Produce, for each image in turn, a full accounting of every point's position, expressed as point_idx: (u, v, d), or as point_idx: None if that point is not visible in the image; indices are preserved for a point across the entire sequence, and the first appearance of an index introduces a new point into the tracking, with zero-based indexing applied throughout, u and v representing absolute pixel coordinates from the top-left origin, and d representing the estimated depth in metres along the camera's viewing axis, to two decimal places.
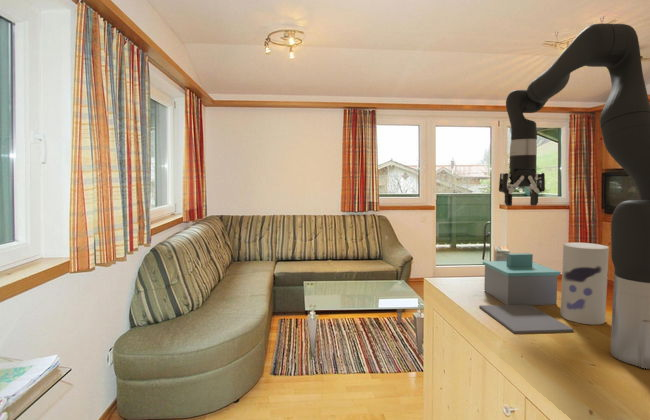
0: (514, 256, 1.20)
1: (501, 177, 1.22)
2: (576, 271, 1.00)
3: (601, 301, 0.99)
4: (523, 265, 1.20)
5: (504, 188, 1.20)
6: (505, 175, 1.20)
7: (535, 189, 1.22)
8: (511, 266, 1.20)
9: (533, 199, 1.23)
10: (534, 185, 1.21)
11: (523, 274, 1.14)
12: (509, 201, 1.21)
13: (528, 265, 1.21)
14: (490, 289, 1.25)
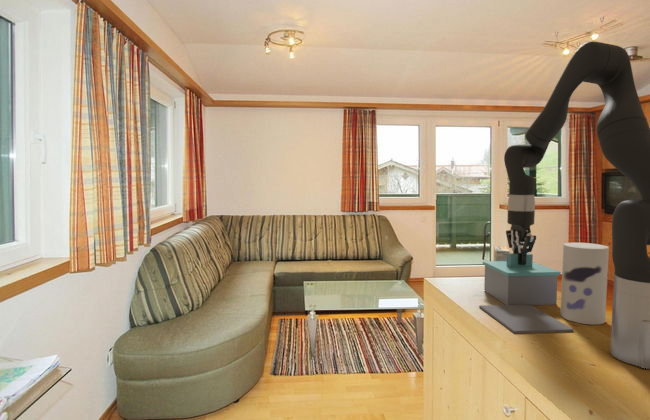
0: (514, 256, 1.20)
1: (530, 240, 1.15)
2: (576, 272, 1.00)
3: (601, 301, 0.99)
4: (523, 265, 1.20)
5: None
6: None
7: None
8: (511, 266, 1.20)
9: None
10: None
11: (523, 274, 1.14)
12: (525, 260, 1.20)
13: (528, 265, 1.20)
14: (490, 289, 1.25)
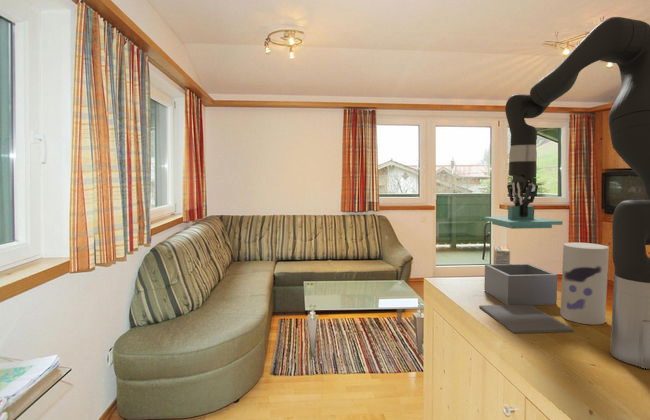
0: (516, 208, 1.19)
1: (532, 190, 1.14)
2: (576, 271, 1.00)
3: (601, 301, 0.99)
4: (525, 217, 1.19)
5: None
6: None
7: None
8: (513, 218, 1.19)
9: None
10: None
11: (525, 223, 1.12)
12: None
13: (530, 217, 1.19)
14: (490, 289, 1.25)
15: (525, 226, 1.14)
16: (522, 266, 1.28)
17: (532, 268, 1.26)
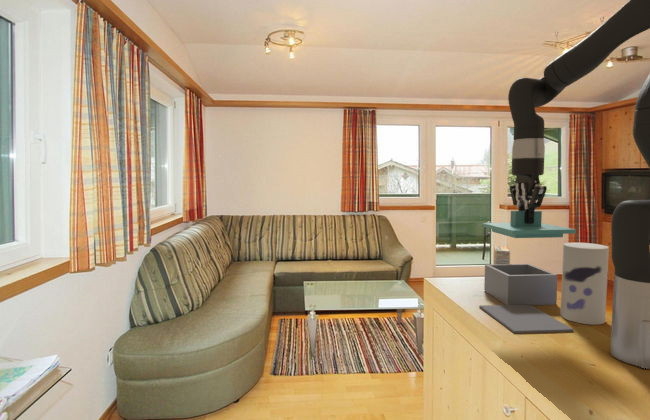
0: (520, 213, 1.00)
1: (539, 192, 0.95)
2: (576, 272, 1.00)
3: (601, 301, 0.99)
4: (530, 224, 1.01)
5: None
6: None
7: None
8: (516, 225, 1.01)
9: None
10: None
11: (531, 232, 0.94)
12: None
13: (536, 224, 1.01)
14: (490, 289, 1.25)
15: (531, 235, 0.96)
16: (522, 266, 1.28)
17: (532, 268, 1.26)
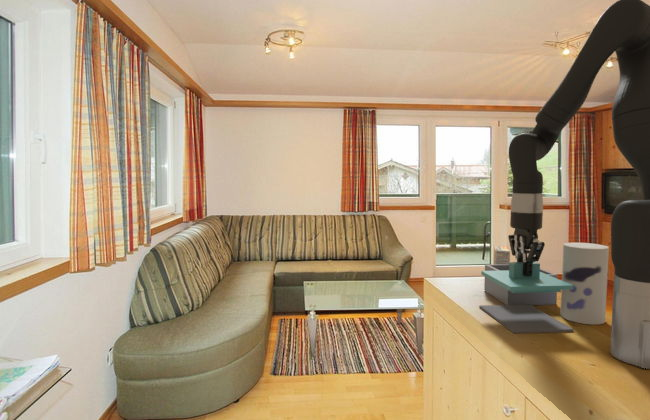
0: (518, 266, 1.02)
1: (537, 248, 0.96)
2: (576, 272, 1.00)
3: (601, 301, 0.99)
4: (529, 276, 1.02)
5: None
6: None
7: None
8: (514, 277, 1.02)
9: None
10: None
11: (529, 288, 0.95)
12: (531, 271, 1.01)
13: (534, 276, 1.02)
14: (490, 289, 1.25)
15: (529, 290, 0.97)
16: None
17: None
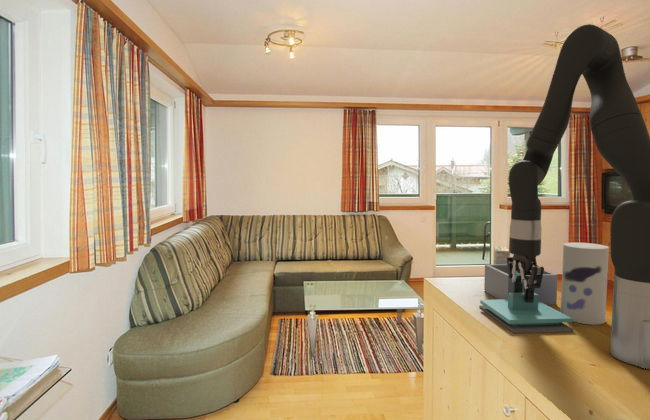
0: (517, 297, 1.02)
1: (537, 272, 0.96)
2: (576, 272, 1.00)
3: (601, 301, 0.99)
4: (527, 307, 1.03)
5: None
6: None
7: None
8: (513, 309, 1.02)
9: (519, 289, 1.06)
10: None
11: (528, 321, 0.96)
12: None
13: (533, 307, 1.03)
14: (490, 289, 1.25)
15: (528, 322, 0.98)
16: None
17: None
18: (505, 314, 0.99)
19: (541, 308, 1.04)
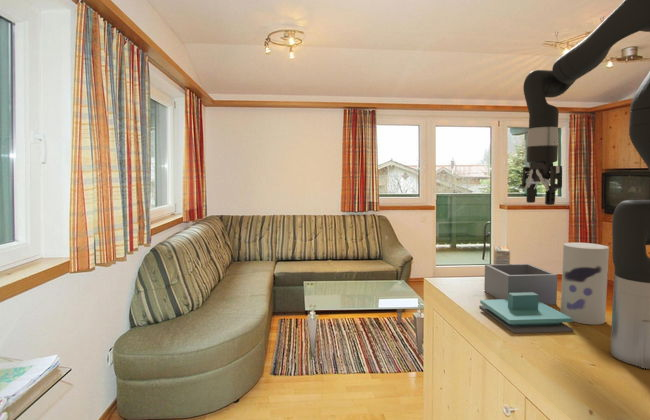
0: (517, 297, 1.02)
1: (556, 170, 1.00)
2: (576, 271, 1.00)
3: (601, 301, 0.99)
4: (527, 307, 1.03)
5: None
6: None
7: None
8: (513, 309, 1.02)
9: (532, 195, 1.12)
10: None
11: (528, 321, 0.96)
12: None
13: (533, 307, 1.03)
14: (490, 289, 1.25)
15: (528, 322, 0.98)
16: (522, 266, 1.28)
17: (532, 268, 1.26)
18: (505, 314, 0.99)
19: (541, 308, 1.04)
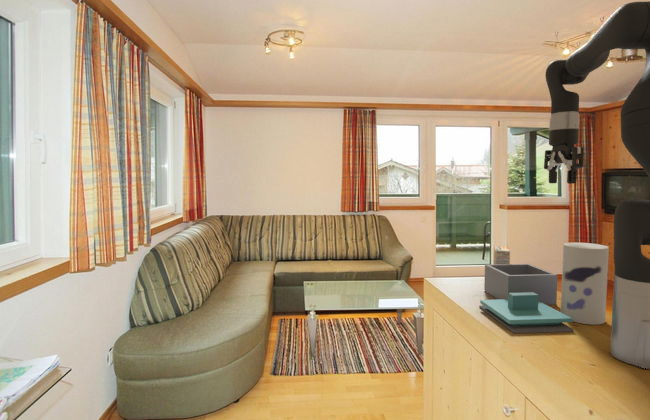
0: (517, 297, 1.02)
1: (578, 151, 1.08)
2: (576, 272, 1.00)
3: (601, 301, 0.99)
4: (527, 307, 1.03)
5: None
6: None
7: None
8: (513, 309, 1.02)
9: (554, 177, 1.20)
10: None
11: (528, 321, 0.96)
12: None
13: (533, 307, 1.03)
14: (490, 289, 1.25)
15: (528, 322, 0.98)
16: (522, 266, 1.28)
17: (532, 268, 1.26)
18: (505, 314, 0.99)
19: (541, 308, 1.04)
